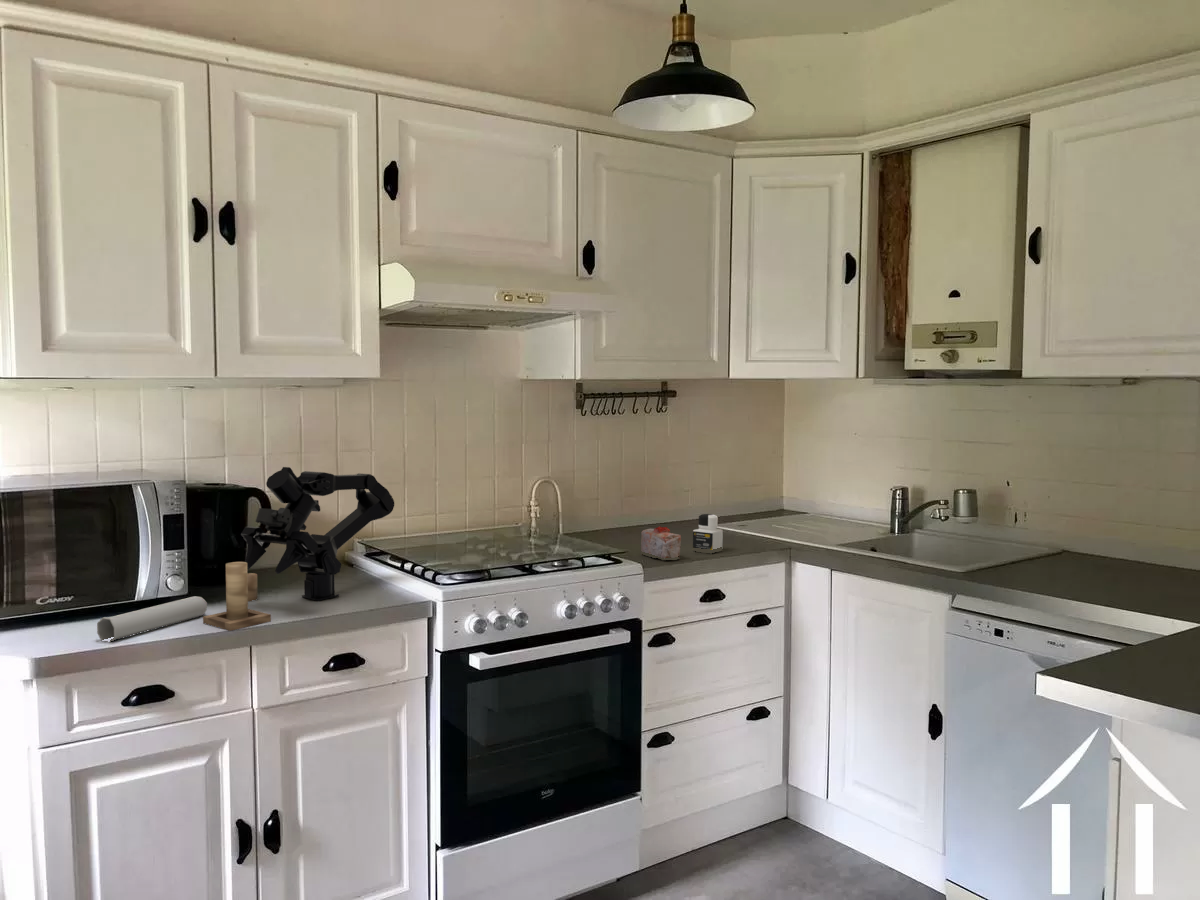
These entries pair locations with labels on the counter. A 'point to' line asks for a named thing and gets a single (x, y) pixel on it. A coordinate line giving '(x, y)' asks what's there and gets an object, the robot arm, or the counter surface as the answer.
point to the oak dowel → (236, 590)
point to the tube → (150, 618)
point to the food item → (660, 542)
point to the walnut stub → (252, 586)
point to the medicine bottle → (708, 533)
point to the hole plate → (224, 623)
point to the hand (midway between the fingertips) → (261, 570)
